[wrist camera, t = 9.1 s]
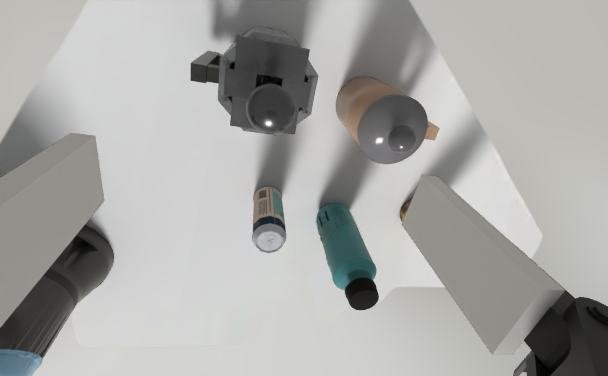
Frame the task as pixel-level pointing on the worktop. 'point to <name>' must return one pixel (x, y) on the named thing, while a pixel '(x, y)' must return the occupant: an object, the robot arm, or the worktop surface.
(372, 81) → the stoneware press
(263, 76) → the plunger
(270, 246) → the beer can
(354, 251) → the beverage bottle
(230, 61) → the steel carafe
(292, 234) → the worktop surface
